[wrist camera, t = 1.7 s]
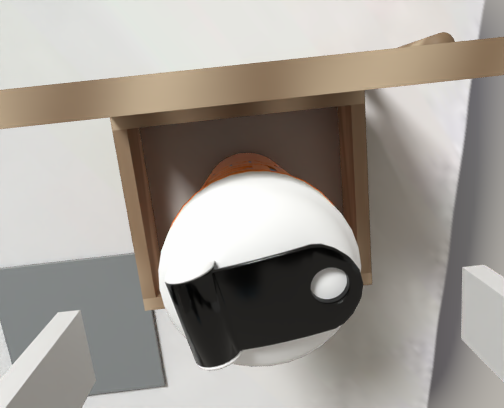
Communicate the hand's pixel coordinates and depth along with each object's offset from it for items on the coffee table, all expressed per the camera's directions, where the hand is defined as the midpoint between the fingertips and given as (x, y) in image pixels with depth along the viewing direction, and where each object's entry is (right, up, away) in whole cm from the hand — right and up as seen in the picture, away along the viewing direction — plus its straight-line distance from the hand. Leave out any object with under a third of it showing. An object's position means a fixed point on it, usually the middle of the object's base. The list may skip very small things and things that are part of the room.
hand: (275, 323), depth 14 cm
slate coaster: (-16, -7, +23) cm, 29 cm away
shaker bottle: (-1, +5, +21) cm, 21 cm away
